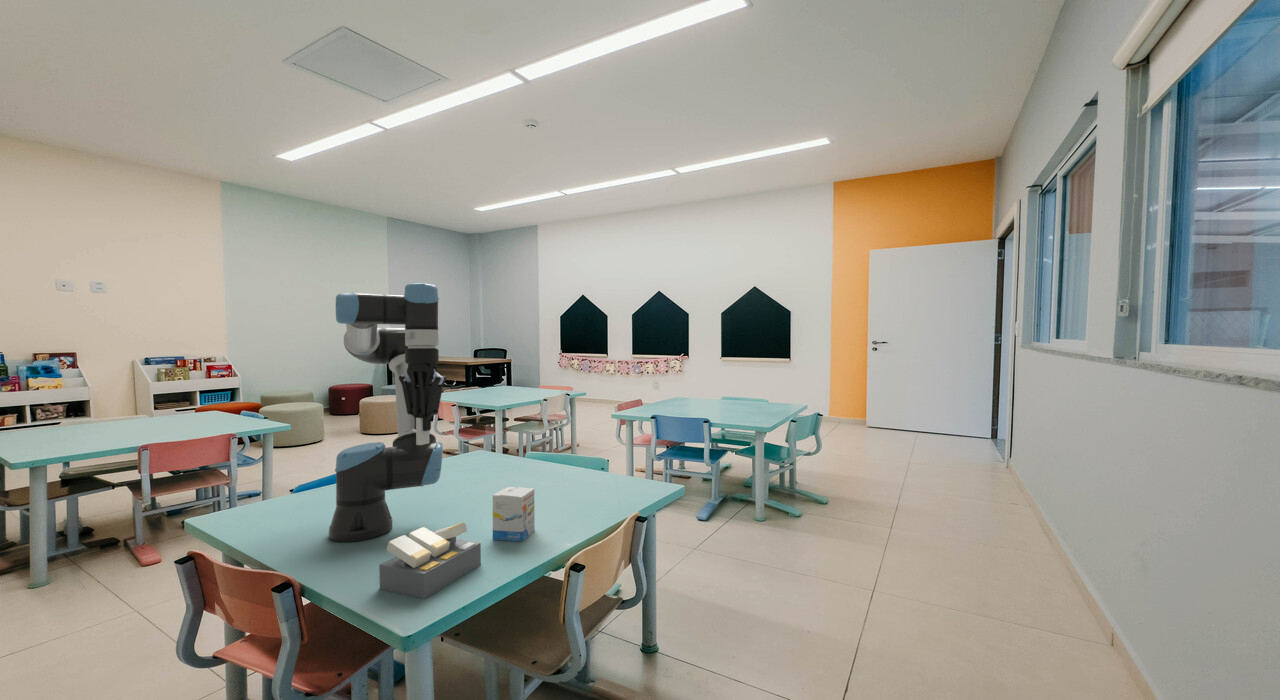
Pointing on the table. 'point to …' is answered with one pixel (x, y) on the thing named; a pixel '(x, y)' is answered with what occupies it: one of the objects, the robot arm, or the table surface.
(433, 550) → the rocker
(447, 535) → the rocker
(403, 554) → the rocker
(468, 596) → the table surface
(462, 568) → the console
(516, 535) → the ink box
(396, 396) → the robot arm
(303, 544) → the table surface
